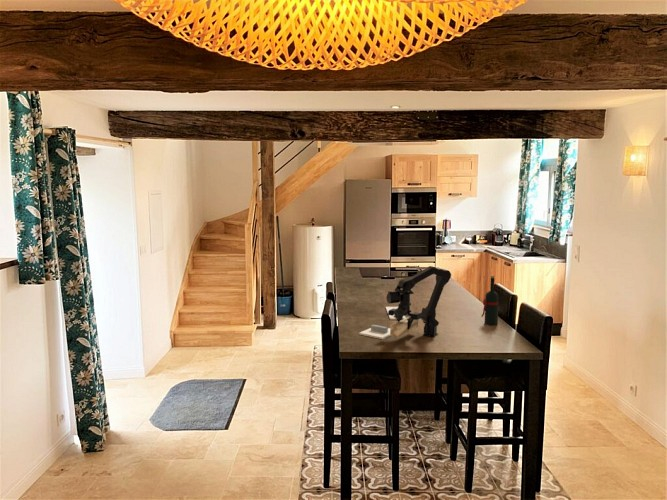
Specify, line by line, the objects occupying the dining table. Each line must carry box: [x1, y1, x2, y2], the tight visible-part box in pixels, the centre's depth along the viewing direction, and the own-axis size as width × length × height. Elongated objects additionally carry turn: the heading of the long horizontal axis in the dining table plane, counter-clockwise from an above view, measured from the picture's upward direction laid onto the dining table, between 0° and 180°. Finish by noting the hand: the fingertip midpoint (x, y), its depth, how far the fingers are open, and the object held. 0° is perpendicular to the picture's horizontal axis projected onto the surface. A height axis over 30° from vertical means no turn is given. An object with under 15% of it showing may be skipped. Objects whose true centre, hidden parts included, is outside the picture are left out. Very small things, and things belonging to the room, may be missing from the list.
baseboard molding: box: [385, 306, 407, 321], centre depth 343 cm, size 31×3×12 cm
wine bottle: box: [481, 275, 499, 326], centre depth 315 cm, size 8×10×30 cm
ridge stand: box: [358, 324, 391, 340], centre depth 300 cm, size 16×18×4 cm
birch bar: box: [389, 316, 419, 338], centre depth 289 cm, size 4×24×6 cm, turn 143°
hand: (404, 328), depth 289 cm, fingers closed on birch bar, 4 cm apart
